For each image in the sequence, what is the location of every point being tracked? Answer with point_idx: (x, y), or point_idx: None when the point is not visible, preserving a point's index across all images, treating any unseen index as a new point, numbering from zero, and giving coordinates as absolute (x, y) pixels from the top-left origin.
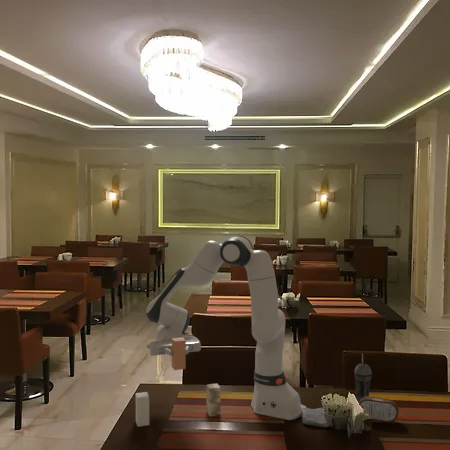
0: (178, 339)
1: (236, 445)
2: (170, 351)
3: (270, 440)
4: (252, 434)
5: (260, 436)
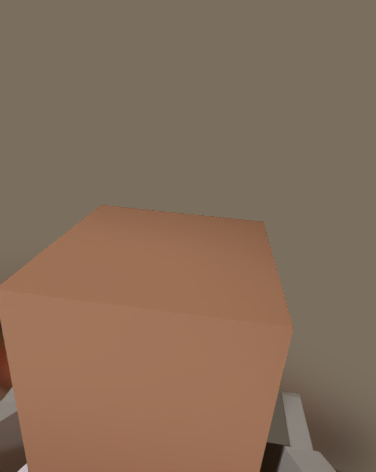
0: (168, 243)
1: None
2: (284, 392)
3: (4, 345)
4: (7, 385)
5: (2, 368)
